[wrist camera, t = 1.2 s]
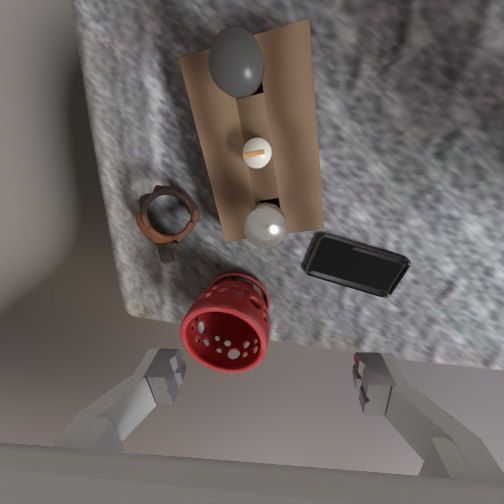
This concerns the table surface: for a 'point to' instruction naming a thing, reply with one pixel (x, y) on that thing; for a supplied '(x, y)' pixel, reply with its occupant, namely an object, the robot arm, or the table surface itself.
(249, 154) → the dial
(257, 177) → the mount
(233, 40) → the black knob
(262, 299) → the plant pot
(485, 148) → the table surface
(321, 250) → the phone
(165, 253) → the brown open round fixture
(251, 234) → the silver knob
